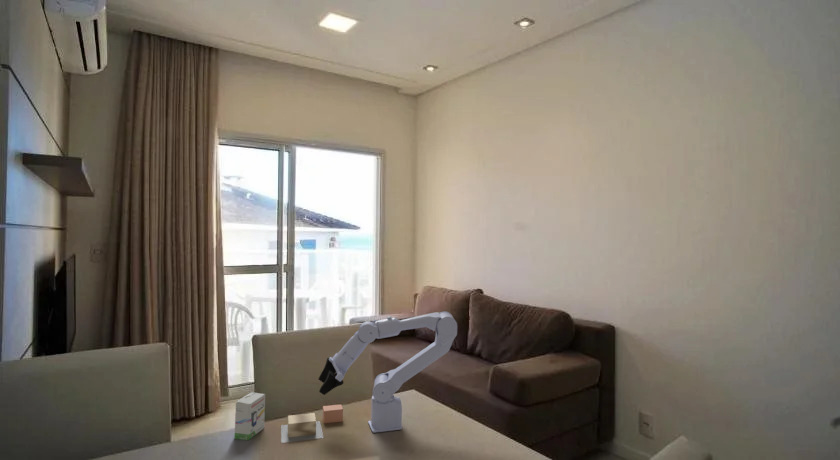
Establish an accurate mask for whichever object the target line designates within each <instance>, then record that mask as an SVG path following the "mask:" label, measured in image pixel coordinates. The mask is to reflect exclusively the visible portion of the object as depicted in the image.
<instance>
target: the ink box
mask: <svg viewBox="0 0 840 460" xmlns="http://www.w3.org/2000/svg"><path fill="white" fill-rule="evenodd" d="M265 412H266V393H262V392H261V393H259V392H254V391H251V392H249V393H248V394H246V395H244V396H243V397H241V398H240V399H238V400H236V402H235V415H234V416H235V419H234V438H233V439H236V440H242V441H249V440H251V439H252V438H253V437H254V436H256V435H257V434H258V433H260V432H261V431H262V430H263V429H265V416H266V413H265Z"/></svg>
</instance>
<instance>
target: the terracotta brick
mask: <svg viewBox="0 0 840 460" xmlns="http://www.w3.org/2000/svg"><path fill="white" fill-rule="evenodd" d="M343 421H344V408H343V405H342V404H332V405H331V404H330V405H323V406H322V422H323V424H330V423H338V422H343Z"/></svg>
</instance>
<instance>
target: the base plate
mask: <svg viewBox="0 0 840 460" xmlns="http://www.w3.org/2000/svg"><path fill="white" fill-rule="evenodd" d="M318 439H319V440H320V439H324V433H323V428H322V425H321V421H320V420H316V434H313V435H305V436H296V437H288V423H287V424H281V425H280V442H281V444H285V443H293V442H302V441H303V442H304V441H309V440H310V441H311V440H318Z"/></svg>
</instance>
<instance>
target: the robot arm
mask: <svg viewBox="0 0 840 460" xmlns="http://www.w3.org/2000/svg"><path fill="white" fill-rule="evenodd" d="M420 328H427V329H429V330H431V331H433V332H435V337H434V338H435V339H434V342H432V343H431V344H430V343H429V345H427V347H425V348H423V349H422V350H421V351H419V352H417V353H416V354H415V355H413V356H412V357H411V358H409V359H408V360H406V361H404V362H403V363H402V364H400V365H399V366H397V367H396V368H393V369H390V370H388V371H387V372H384V373H379V374H378V375H377V376H376V377H375V378H374V381H373V388H372V396H371V415H370V417H371V418H370V419H371V420H368V422H367V423H368V426H369V428H370V429H371V432H372V433H382V432H392V431H398V430H399V431H400V430H402V429H403V426H402V423H403V421H402V417H403V405H402V400H401V398H400V397H399V396H395V395H394V394H395V393H396V392H398V391H399V389H400V388H401V387H402V386H403V385H404V383H406V382H407V381H408V380H411V378H413V377H415V376H416V375H418V374H419V373H421V371H423V370H424V369H426V368H427V367H429V366H430V365H432V364H433V363H434V362H436V361H438V360H439V359H440V358H441V357H443V356H445V355H446V354H447V353H449V351H450V349H451V347H452V345H453V343H454V340H455V338H456V337H457V335H458V322H457V320H456V319H455V318H454V316H453V315H452V313H450V312H448V311H441V312H438V311H437V312H435V311H434V312H431V313H425V314H420V315H417V316H412V317H408V318H406V319H405V318H404V319H401V320H400V319H398V318H396V317H392V316H391V315H389V316H386V318H384V319H379V320H376V319H372V321H369V320H366V321H363V323H360V325H359V327H358V330H357V331H356V332H354V334H353V336H351V337H349V339H348V341H346V343H344V345H343V346H342V348H341V349H340V350H339V351H338V352H336V353H335V354H334V355H332V356H330V357H327V358H326V362H325V365H324V367H323V369H322V371H321V372H320V375H319V377H318V381H320V382H322V383H323V384H322V385H321V387H320V388H319V389H318V391H319V393H320V394H322V395H324V396H325V395H327V394H328V393H330V392H331V391H333V389H336V388H337V387H340V386H342V385H343V384H344V380H343V379H344V378H345V375H346V373H347V372H348V369H349V368H350V367H352V365H353V363H355V361H356V360H357V359H358V358H359V356H360V355H361V354H362V353H363V352H364V351H365V350H366V348H367V346H368V345H369V344H371V343H372V342H375V340H376V339H377V340H379V339H385V338H391V337H395V336H398V335H400V333H401V332H402V331H406V330H415V329H420Z"/></svg>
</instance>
